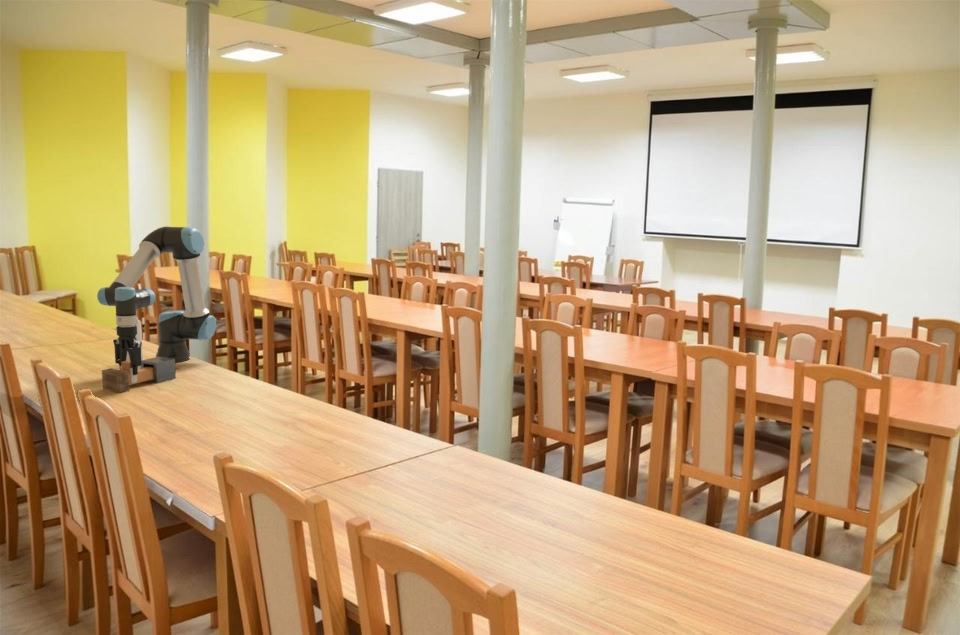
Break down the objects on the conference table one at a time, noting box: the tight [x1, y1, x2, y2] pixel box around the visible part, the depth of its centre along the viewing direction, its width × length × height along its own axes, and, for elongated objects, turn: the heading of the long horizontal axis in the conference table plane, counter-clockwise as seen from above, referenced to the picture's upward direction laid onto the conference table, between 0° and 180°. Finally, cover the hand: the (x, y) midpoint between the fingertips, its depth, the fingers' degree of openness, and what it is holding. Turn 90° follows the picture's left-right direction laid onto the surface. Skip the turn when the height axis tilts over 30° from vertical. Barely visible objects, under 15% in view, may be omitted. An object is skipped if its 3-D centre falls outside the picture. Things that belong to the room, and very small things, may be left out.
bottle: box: [126, 310, 144, 369], centre depth 327 cm, size 8×8×28 cm
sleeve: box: [141, 356, 177, 384], centre depth 321 cm, size 10×9×9 cm
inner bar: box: [121, 360, 154, 386], centre depth 309 cm, size 20×4×9 cm, turn 156°
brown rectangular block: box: [101, 368, 130, 394], centre depth 302 cm, size 4×10×8 cm, turn 66°
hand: (129, 381), depth 308 cm, fingers closed on inner bar, 4 cm apart
